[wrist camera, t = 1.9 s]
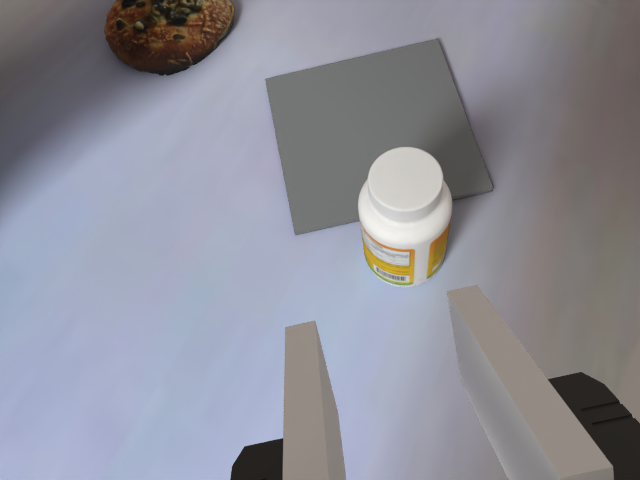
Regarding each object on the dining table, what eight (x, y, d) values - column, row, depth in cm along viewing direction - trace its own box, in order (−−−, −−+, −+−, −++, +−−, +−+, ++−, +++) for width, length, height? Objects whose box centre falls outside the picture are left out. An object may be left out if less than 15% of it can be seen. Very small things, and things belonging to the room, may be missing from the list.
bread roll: (122, 95, 49) (96, 45, 45) (107, 19, 55) (83, -31, 51) (251, 54, 50) (236, 2, 46) (222, -16, 56) (207, -68, 52)
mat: (492, 190, 41) (493, 188, 41) (295, 235, 42) (294, 232, 41) (437, 42, 47) (437, 38, 47) (266, 82, 48) (265, 79, 47)
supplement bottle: (426, 205, 41) (433, 121, 33) (457, 273, 39) (474, 202, 30) (353, 231, 41) (340, 153, 33) (380, 300, 39) (374, 236, 30)
